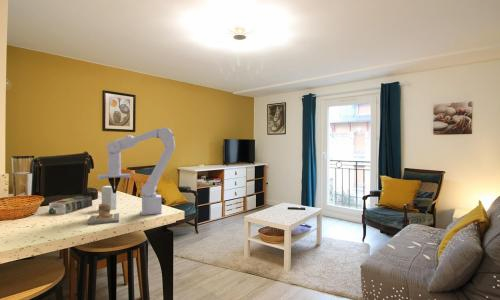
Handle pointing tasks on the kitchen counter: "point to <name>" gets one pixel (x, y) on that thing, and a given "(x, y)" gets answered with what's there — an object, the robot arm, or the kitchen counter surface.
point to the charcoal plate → (96, 219)
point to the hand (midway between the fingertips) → (114, 192)
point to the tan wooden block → (104, 211)
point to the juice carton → (70, 204)
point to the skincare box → (109, 196)
